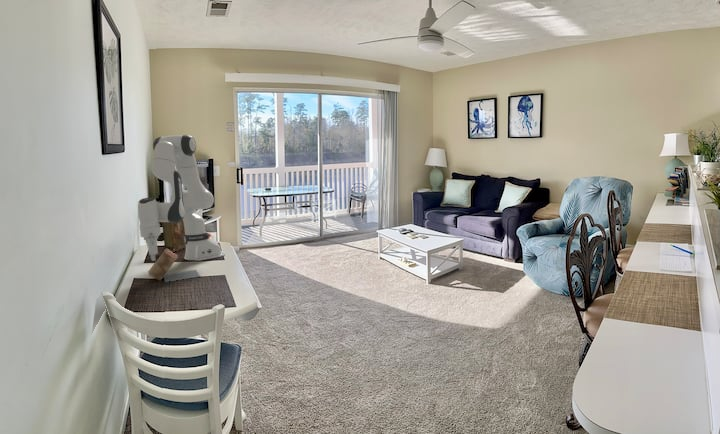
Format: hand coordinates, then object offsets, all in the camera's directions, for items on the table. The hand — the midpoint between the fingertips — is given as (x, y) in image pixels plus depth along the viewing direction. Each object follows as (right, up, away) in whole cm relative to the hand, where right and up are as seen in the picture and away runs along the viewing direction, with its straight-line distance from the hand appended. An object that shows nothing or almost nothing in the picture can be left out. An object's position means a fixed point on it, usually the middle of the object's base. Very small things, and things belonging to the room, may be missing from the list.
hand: (153, 260), depth 225 cm
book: (-14, 0, +65) cm, 67 cm away
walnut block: (0, -8, +1) cm, 8 cm away
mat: (+11, -9, +7) cm, 15 cm away
